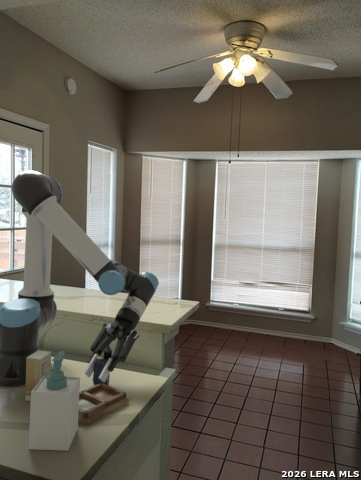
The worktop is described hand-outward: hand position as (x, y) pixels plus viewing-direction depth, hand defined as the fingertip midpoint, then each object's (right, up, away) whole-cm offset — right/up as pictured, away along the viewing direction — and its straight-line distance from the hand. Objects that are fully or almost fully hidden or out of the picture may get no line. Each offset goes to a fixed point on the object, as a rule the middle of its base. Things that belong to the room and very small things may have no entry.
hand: (94, 377), depth 111 cm
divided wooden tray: (+2, -4, -10) cm, 11 cm away
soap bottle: (-3, -5, -26) cm, 26 cm away
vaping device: (+1, -3, +3) cm, 5 cm away
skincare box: (-14, -3, -6) cm, 16 cm away
